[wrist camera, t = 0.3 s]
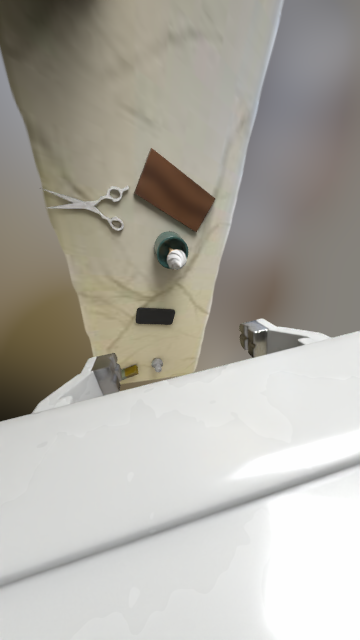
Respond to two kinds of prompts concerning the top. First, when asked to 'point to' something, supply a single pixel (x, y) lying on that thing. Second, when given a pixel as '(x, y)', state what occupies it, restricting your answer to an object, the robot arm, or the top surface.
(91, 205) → the scissors
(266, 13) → the top surface
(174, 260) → the ice cream cone
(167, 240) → the cup
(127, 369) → the medication box
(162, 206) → the board
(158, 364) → the grey lumpy piece
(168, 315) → the phone
